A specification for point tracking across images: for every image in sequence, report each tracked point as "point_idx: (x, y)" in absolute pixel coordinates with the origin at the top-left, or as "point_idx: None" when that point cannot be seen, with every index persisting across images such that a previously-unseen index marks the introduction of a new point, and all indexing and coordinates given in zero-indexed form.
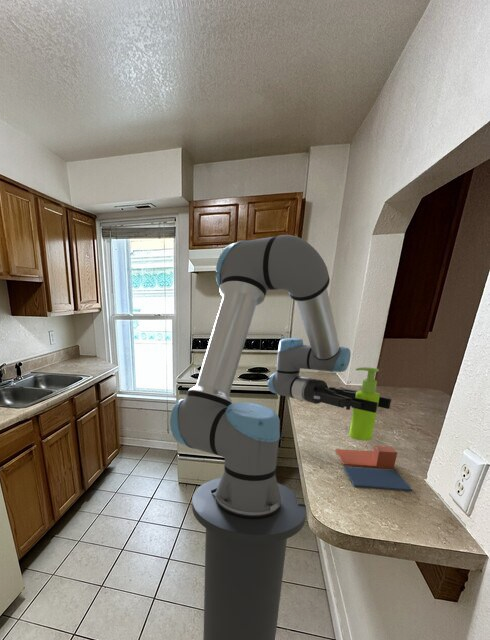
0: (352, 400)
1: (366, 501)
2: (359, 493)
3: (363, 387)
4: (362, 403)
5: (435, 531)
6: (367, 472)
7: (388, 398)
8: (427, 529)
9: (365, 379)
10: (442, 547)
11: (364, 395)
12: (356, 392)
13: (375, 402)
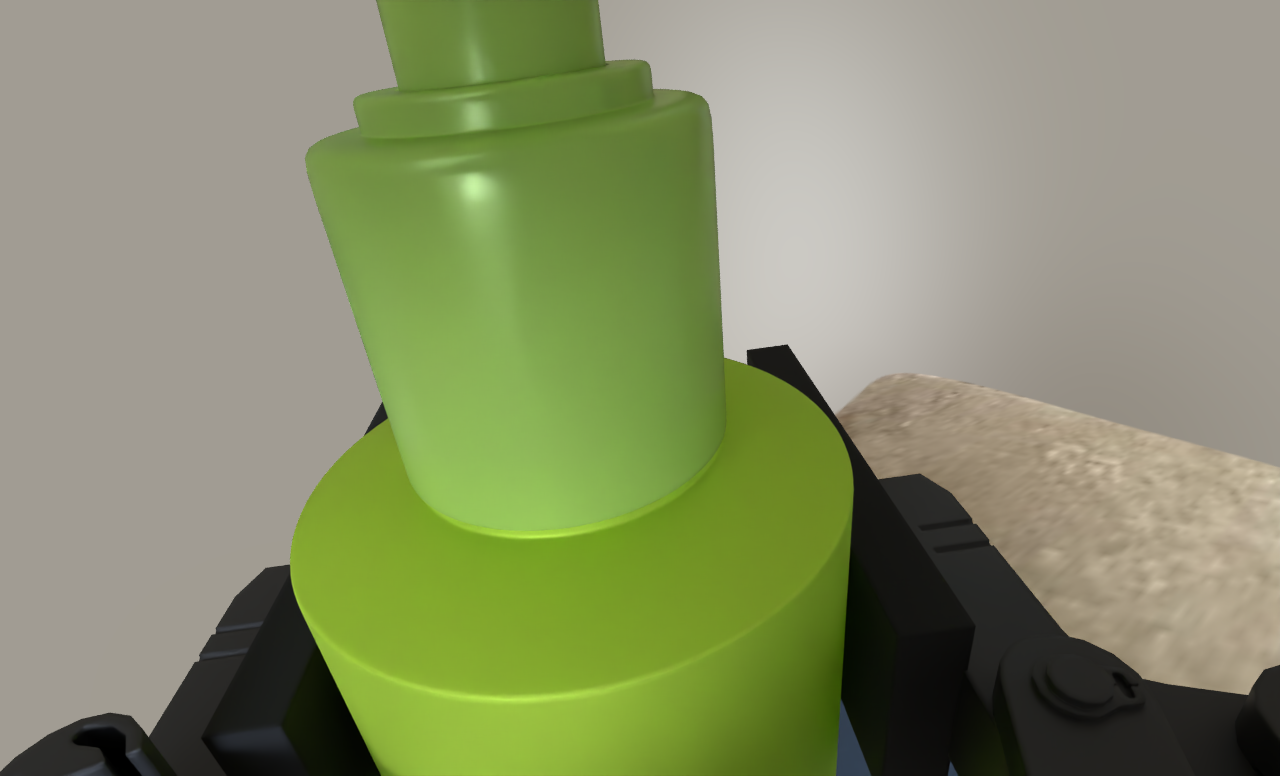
0: (984, 658)
1: (1082, 571)
2: (1080, 629)
3: (716, 320)
4: (883, 487)
5: (933, 418)
6: (857, 770)
7: (375, 421)
8: (951, 426)
9: (609, 72)
10: (976, 387)
11: (808, 401)
12: (785, 588)
13: (777, 355)
